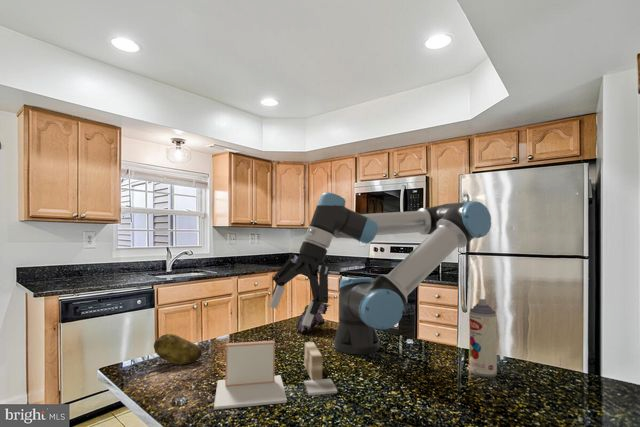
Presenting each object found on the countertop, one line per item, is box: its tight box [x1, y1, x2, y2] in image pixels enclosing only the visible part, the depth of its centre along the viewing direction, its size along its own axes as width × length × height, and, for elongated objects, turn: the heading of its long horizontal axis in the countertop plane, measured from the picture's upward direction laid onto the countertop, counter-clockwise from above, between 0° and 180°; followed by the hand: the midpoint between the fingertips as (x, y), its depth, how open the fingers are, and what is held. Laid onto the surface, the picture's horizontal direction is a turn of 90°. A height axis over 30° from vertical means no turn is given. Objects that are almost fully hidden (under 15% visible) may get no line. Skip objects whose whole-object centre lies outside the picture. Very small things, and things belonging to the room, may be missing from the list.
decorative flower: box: [296, 303, 331, 334], centre depth 140 cm, size 15×12×15 cm
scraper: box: [303, 341, 338, 397], centre depth 95 cm, size 19×7×6 cm, turn 12°
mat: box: [213, 374, 288, 411], centre depth 87 cm, size 16×14×1 cm
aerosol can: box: [468, 298, 498, 378], centre depth 100 cm, size 7×7×20 cm
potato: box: [153, 333, 203, 366], centre depth 105 cm, size 8×13×8 cm, turn 76°
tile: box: [224, 340, 276, 387], centre depth 90 cm, size 12×2×10 cm, turn 102°
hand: (288, 316), depth 100 cm, fingers open, 13 cm apart
